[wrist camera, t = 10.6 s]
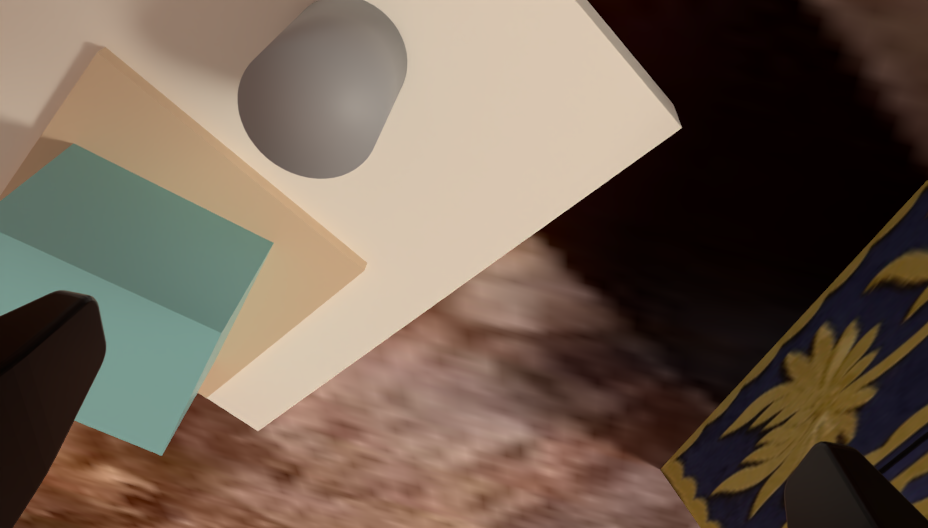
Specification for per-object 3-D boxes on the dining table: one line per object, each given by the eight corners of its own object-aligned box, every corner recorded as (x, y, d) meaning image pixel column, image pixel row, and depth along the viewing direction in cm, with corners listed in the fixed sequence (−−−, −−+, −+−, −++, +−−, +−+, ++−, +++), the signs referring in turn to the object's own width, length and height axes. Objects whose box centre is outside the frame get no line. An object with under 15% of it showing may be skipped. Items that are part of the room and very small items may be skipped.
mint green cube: (273, 242, 20) (221, 333, 17) (214, 361, 23) (161, 455, 20) (73, 143, 19) (-26, 220, 15) (41, 284, 22) (-46, 372, 19)
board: (255, -401, 13) (126, -477, 9) (672, 104, 18) (708, 198, 14) (-71, 170, 22) (-208, 259, 18) (270, 401, 27) (222, 511, 23)
